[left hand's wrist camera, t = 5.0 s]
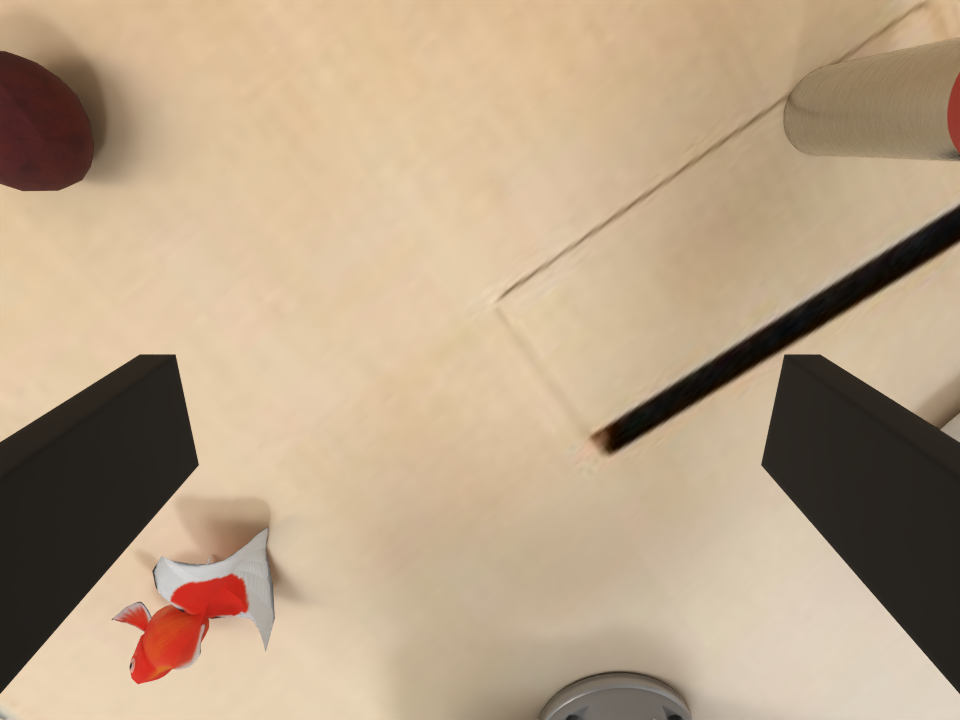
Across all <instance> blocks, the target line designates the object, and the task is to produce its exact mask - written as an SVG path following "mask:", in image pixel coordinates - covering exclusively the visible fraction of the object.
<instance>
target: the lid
mask: <svg viewBox="0 0 960 720" xmlns="http://www.w3.org/2000/svg"><path fill="white" fill-rule="evenodd" d="M947 123H948V130H949V134H950V138H951V140H952V142H953V145H954V146H955V148H956V149H957V151H958V152H959V153H960V72H959V74H958V76H957V78H956V80H955V83H954V85H953V88H952V91H951V94H950V98H949V103H948V109H947Z"/></svg>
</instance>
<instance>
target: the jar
mask: <svg viewBox="0 0 960 720" xmlns="http://www.w3.org/2000/svg"><path fill="white" fill-rule="evenodd" d="M959 72H960V37H958V38H953V39H948V40H944V41H939V42H935V43H930V44H925V45H921V46H916V47H912V48H907V49H902V50H898V51H893V52H888V53H884V54H879V55H875V56H870V57H865V58H861V59H856V60H851V61H847V62H842V63H838V64H833V65H828V66H825V67H821V68H819V69H816V70H815V71H813V72H811V73H810V74H808V75H807V76H805V77H804V78H803V79H802V80H801V81H800V82H799V83H798V84H797V86H796V87H795V88H794V90H793V91H792V93H791V95H790V97H789V99H788V101H787V104H786V107H785V112H784V127H785V131H786V134H787V137H788V139H789V140H790V142H791V143H792V145H794V146H795V147H796V148H797V149H798V150H800V151H802V152H804V153H806V154H810V155H824V156H847V157H871V158H894V159H918V160H942V161H960V153H959V152H958V151H957V149H956V148H955V146H954V145H953V142H952V140H951V138H950V134H949V130H948V123H947V109H948V103H949V98H950V94H951V91H952V88H953V85H954V83H955V80H956V78H957V76H958V74H959Z"/></svg>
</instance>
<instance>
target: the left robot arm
mask: <svg viewBox="0 0 960 720" xmlns="http://www.w3.org/2000/svg"><path fill="white" fill-rule="evenodd" d="M198 465H199V464H198V459H197V454H196V450H195V445H194V440H193V435H192V431H191V426H190V421H189V416H188V412H187V407H186V402H185V397H184V393H183V388H182V383H181V378H180V374H179V369H178V364H177V360H176V355H138V356H137V357H135V358H134V359H132V360H130V361H129V362H127V363H126V364H124V365H123V366H121V367H119V368H118V369H116V370H115V371H113V372H111V373H110V374H108V375H107V376H105V377H103V378H102V379H100V380H99V381H97V382H95V383H94V384H92V385H91V386H89V387H87V388H86V389H84V390H83V391H81V392H80V393H78V394H76V395H75V396H73V397H72V398H70V399H68V400H67V401H65V402H64V403H62V404H60V405H59V406H57V407H56V408H54V409H52V410H51V411H49V412H48V413H46V414H45V415H43V416H41V417H40V418H38V419H37V420H35V421H33V422H32V423H30V424H29V425H27V426H25V427H24V428H22V429H21V430H19V431H17V432H16V433H14V434H13V435H11V436H9V437H8V438H6V439H5V440H3V441H2V442H0V694H1V692H2V691H3V690H4V689H5V688H6V687H7V685H8V684H9V683H10V682H11V681H12V680H13V679H14V677H15V676H16V675H17V674H18V673H19V672H20V671H21V669H22V668H23V667H24V666H25V665H26V664H27V662H28V661H29V660H30V659H31V658H32V657H33V656H34V654H35V653H36V652H37V651H38V650H39V649H40V647H41V646H42V645H43V644H44V643H45V642H46V641H47V639H48V638H49V637H50V636H51V635H52V634H53V632H54V631H55V630H56V629H57V628H58V627H59V626H60V624H61V623H62V622H63V621H64V620H65V619H66V617H67V616H68V615H69V614H70V613H71V612H72V611H73V609H74V608H75V607H76V606H77V605H78V604H79V603H80V601H81V600H82V599H83V598H84V597H85V596H86V594H87V593H88V592H89V591H90V590H91V589H92V588H93V586H94V585H95V584H96V583H97V582H98V581H99V579H100V578H101V577H102V576H103V575H104V574H105V573H106V571H107V570H108V569H109V568H110V567H111V566H112V564H113V563H114V562H115V561H116V560H117V559H118V558H119V556H120V555H121V554H122V553H123V552H124V551H125V549H126V548H127V547H128V546H129V545H130V544H131V543H132V541H133V540H134V539H135V538H136V537H137V536H138V535H139V533H140V532H141V531H142V530H143V529H144V528H145V526H146V525H147V524H148V523H149V522H150V521H151V520H152V518H153V517H154V516H155V515H156V514H157V513H158V511H159V510H160V509H161V508H162V507H163V506H164V505H165V503H166V502H167V501H168V500H169V499H170V498H171V496H172V495H173V494H174V493H175V492H176V491H177V490H178V488H179V487H180V486H181V485H182V484H183V483H184V481H185V480H186V479H187V478H188V477H189V476H190V475H191V473H192V472H193V471H194V470H195V469H196V468H197V467H198ZM761 465H762V467H763V468H764V469H765V470H766V471H767V472H768V473H769V475H770V476H771V477H772V478H773V479H774V480H775V481H776V483H777V484H778V485H779V486H780V487H781V488H782V490H783V491H784V492H785V493H786V494H787V495H788V496H789V498H790V499H791V500H792V501H793V502H794V503H795V505H796V506H797V507H798V508H799V509H800V510H801V511H802V513H803V514H804V515H805V516H806V517H807V518H808V520H809V521H810V522H811V523H812V524H813V525H814V526H815V528H816V529H817V530H818V531H819V532H820V533H821V535H822V536H823V537H824V538H825V539H826V540H827V541H828V543H829V544H830V545H831V546H832V547H833V548H834V549H835V551H836V552H837V553H838V554H839V555H840V556H841V558H842V559H843V560H844V561H845V562H846V563H847V564H848V566H849V567H850V568H851V569H852V570H853V571H854V573H855V574H856V575H857V576H858V577H859V578H860V579H861V581H862V582H863V583H864V584H865V585H866V586H867V588H868V589H869V590H870V591H871V592H872V593H873V594H874V596H875V597H876V598H877V599H878V600H879V601H880V603H881V604H882V605H883V606H884V607H885V608H886V609H887V611H888V612H889V613H890V614H891V615H892V616H893V617H894V619H895V620H896V621H897V622H898V623H899V624H900V626H901V627H902V628H903V629H904V630H905V631H906V632H907V634H908V635H909V636H910V637H911V638H912V639H913V641H914V642H915V643H916V644H917V645H918V646H919V647H920V649H921V650H922V651H923V652H924V653H925V654H926V656H927V657H928V658H929V659H930V660H931V661H932V662H933V664H934V665H935V666H936V667H937V668H938V669H939V671H940V672H941V673H942V674H943V675H944V676H945V677H946V679H947V680H948V681H949V682H950V683H951V684H952V685H953V687H954V688H955V689H956V690H957V691H958V692H959V694H960V442H958V441H957V440H955V439H954V438H952V437H951V436H949V435H947V434H946V433H944V432H943V431H941V430H939V429H938V428H936V427H935V426H933V425H931V424H930V423H928V422H927V421H925V420H923V419H922V418H920V417H919V416H917V415H915V414H914V413H912V412H911V411H909V410H908V409H906V408H904V407H903V406H901V405H900V404H898V403H896V402H895V401H893V400H892V399H890V398H888V397H887V396H885V395H884V394H882V393H880V392H879V391H877V390H876V389H874V388H873V387H871V386H869V385H868V384H866V383H865V382H863V381H861V380H860V379H858V378H857V377H855V376H853V375H852V374H850V373H849V372H847V371H845V370H844V369H842V368H841V367H839V366H837V365H836V364H834V363H833V362H831V361H830V360H828V359H826V358H825V357H823V356H822V355H784V360H783V364H782V369H781V374H780V378H779V383H778V388H777V393H776V397H775V402H774V407H773V412H772V416H771V421H770V426H769V431H768V435H767V440H766V445H765V450H764V454H763V459H762V464H761ZM539 720H692V719H691V716H690V713H689V710H688V708H687V706H686V704H685V702H684V700H683V699H682V698H681V696H680V695H679V694H678V693H677V692H676V691H675V690H673V689H672V688H671V687H669V686H668V685H666V684H664V683H662V682H660V681H658V680H655V679H653V678H650V677H646V676H642V675H637V674H628V673H612V674H603V675H598V676H594V677H590V678H586V679H583V680H581V681H578V682H576V683H574V684H572V685H570V686H568V687H566V688H565V689H563V690H562V691H560V692H559V693H558V694H556V695H555V696H554V697H553V698H552V699H551V700H550V701H549V702H548V703H547V705H546V706H545V708H544V709H543V711H542V713H541V715H540V717H539Z"/></svg>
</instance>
